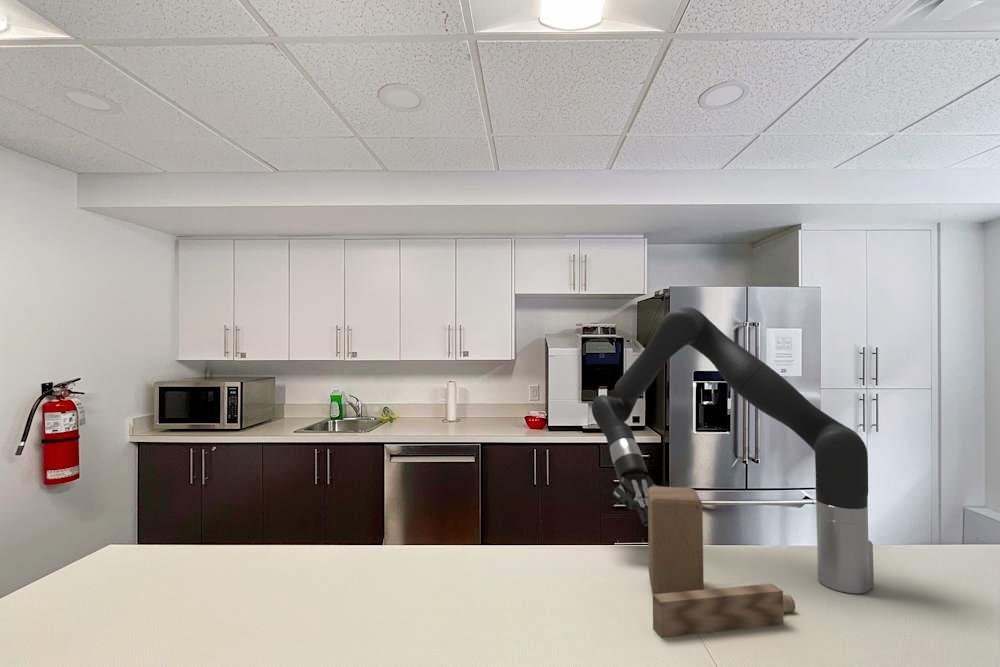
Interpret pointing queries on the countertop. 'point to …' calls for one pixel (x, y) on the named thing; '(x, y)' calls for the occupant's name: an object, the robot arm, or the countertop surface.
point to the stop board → (717, 609)
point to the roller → (788, 604)
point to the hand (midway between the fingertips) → (650, 525)
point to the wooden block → (675, 539)
